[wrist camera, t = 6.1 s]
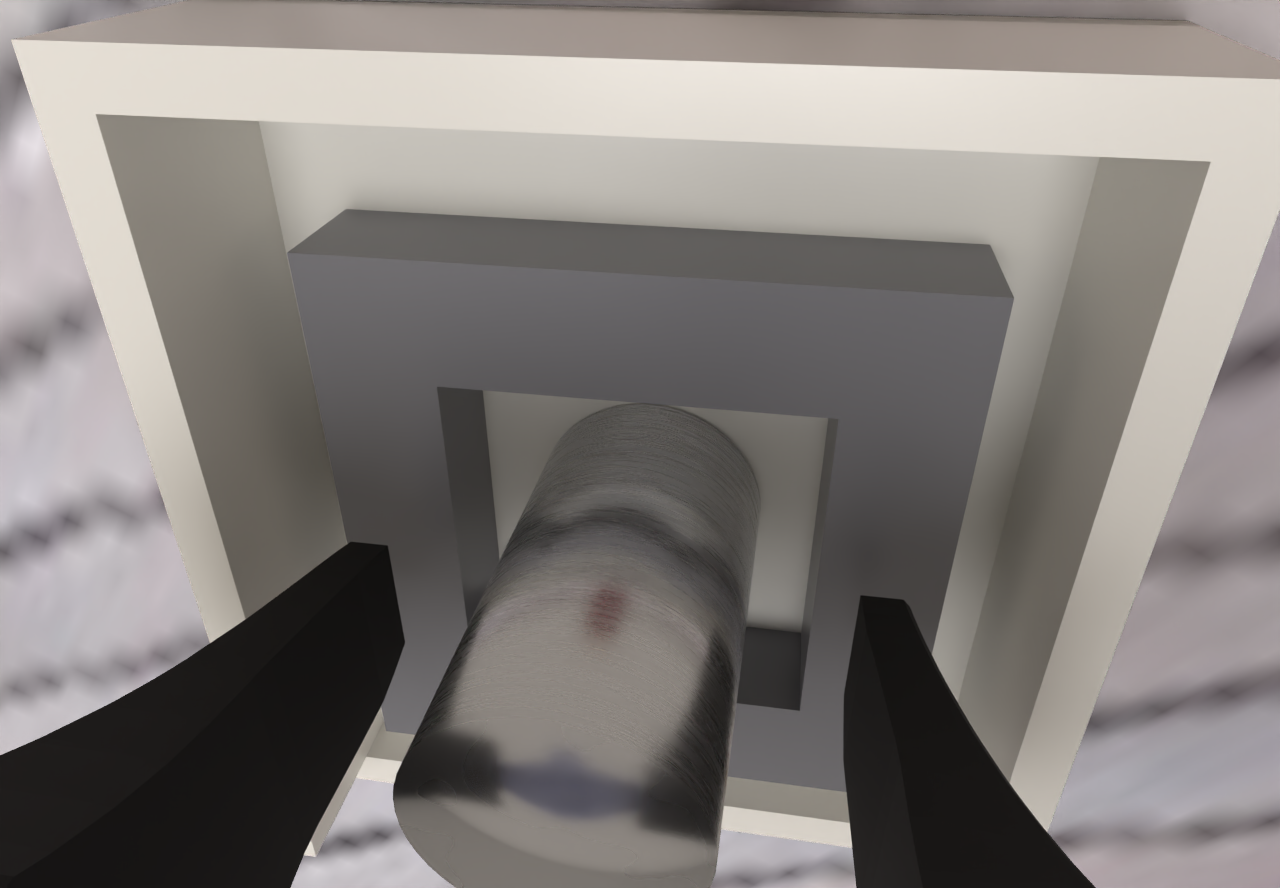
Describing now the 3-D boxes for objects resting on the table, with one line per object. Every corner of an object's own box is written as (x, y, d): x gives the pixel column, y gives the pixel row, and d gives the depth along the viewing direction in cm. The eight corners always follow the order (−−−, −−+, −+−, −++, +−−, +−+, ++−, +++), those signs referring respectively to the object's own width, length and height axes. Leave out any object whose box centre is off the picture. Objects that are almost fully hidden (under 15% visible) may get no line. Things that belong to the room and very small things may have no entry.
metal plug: (765, 412, 16) (720, 745, 10) (755, 593, 18) (714, 955, 12) (535, 396, 16) (365, 699, 10) (552, 573, 18) (419, 905, 13)
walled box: (1188, 20, 12) (1328, 80, 9) (961, 803, 21) (990, 985, 17) (202, -3, 14) (10, 39, 11) (365, 724, 23) (286, 875, 19)
